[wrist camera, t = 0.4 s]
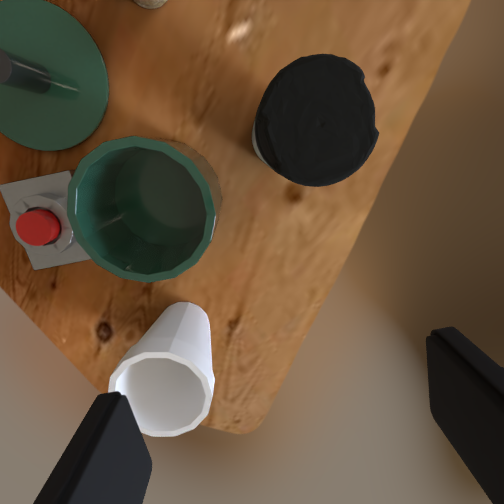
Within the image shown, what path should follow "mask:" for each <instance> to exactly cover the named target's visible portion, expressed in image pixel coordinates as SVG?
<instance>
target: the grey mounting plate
mask: <svg viewBox="0 0 504 504" xmlns="http://www.w3.org/2000/svg"><path fill="white" fill-rule="evenodd" d="M74 172H75V170H69V171H64V172H59V173H54V174H49V175H45V176H40V177H35V178H30V179H26V180H21V181H16V182H11V183H6V184H2V185H0V191H1V193H2V196H3V198H4V200H5V203H6V205H7V208H8V210H9V212H10V222H9V225H10V228H11V230H12V232H13V235H14V237H15V239H16V240H17V241H18V242H19V243H20V244H21V245H22V246H24V248H25V250H26V252H27V255H28V257H29V259H30V262H31V264H32V267H33V269H34V270H39V269H44V268H49V267H54V266H59V265H64V264H69V263H74V262H79V261H84V260H89V259H91V258H90V256H89V255H88V254H87V253H86V252H85V251H84V249H83V248H82V247H81V246H80V245H79V244H78V243H77V241H76V238H75V236H74V233H73V230H72V228H71V225H70V222H69V219H68V217H67V196H68V184H69V182H70V180H71V178H72V176H73V174H74ZM36 209H44V210H47V211H49V212H51V213H52V214H54V215H55V216H56V218H57V219H58V221H59V224H60V233H59V235H58V237H57V238H56V239H54V240H53V241H50V242H48V243H46V244H44V245H41V246H33V245H29V244H27V243H26V242H24V241H23V240H22V239H21V238H20V237H19V235H18V233H17V231H16V221H17V219H18V218H19V216H20V215H22V214H23V213H26V212H29V211H33V210H36Z"/></svg>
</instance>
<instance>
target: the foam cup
mask: <svg viewBox="0 0 504 504" xmlns="http://www.w3.org/2000/svg"><path fill="white" fill-rule="evenodd" d="M214 381H215V378H214V375H213V371H212V355H211V337H210V323H209V320H208V316H207V314H206V313H205V312H204V311H203V310H202V308H201V307H200V306H197V305H195V304H193V303H190V302H177V303H175V304H172V305H170V306H168V307H167V308H166V309H165V310H164V312H163V313H162V314H161V315H160V316H159V318H158V319H157V320H156V321H155V322H154V324H153V325H152V326H151V327H150V328H149V330H148V331H147V332H146V333H145V334H144V335H143V337H142V338H141V339H140V340H139V341H138V343H137V344H135V345H133V346H132V347H131V348H130V349H129V350H128V351H127V353H126V354H125V355H124V356H123V358H122V359H121V360H120V361H119V363H118V365H117V366H116V368H115V370H114V372H113V373H112V375H111V377H110V382H109V389H108V393H109V392H114V391H119V392H120V393H121V395H126V397H127V398H128V401H129V404H130V406H131V409H132V411H133V414H134V416H135V419H136V421H137V424H138V426H139V429H140V431H141V432H142V433H144V434H147V435H150V436H177V435H179V434H182V433H184V432H187V431H189V430H192V429H194V428H195V427H196V426H197V425H198V424H199V423H200V422H201V421H202V420H203V419H204V418H205V417H206V416H207V415H208V412H209V408H210V404H211V400H212V396H213V389H214Z"/></svg>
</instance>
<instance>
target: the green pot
mask: <svg viewBox="0 0 504 504" xmlns="http://www.w3.org/2000/svg"><path fill="white" fill-rule="evenodd" d="M221 205H222V194H221V188H220V184H219V181H218V177H217V175H216V173H215V172H214V170H213V168H212V167H211V165H210V164H209V163H208V162H207V160H206V159H205V157H204V156H202V155H201V154H199V153H198V152H197V151H196V150H194V149H192V148H191V147H189V146H187V145H186V144H185V143H181V142H176V141H171V140H167V139H162V138H152V137H142V136H130V137H125V138H120V139H116V140H111V141H106V142H103V143H102V144H101V145H99V146H98V147H97V148H95V149H94V150H93V151H91V152H90V153H89V154H88V155H86V156H85V157H84V158H82V159H81V161H80V162H79V164H78V166H77V168H76V170H75V172H74V174H73V176H72V178H71V180H70V182H69V184H68V196H67V217H68V219H69V222H70V225H71V228H72V230H73V233H74V236H75V238H76V241H77V243H78V244H79V245H80V246H81V247H82V248H83V249H84V251H85V252H86V253H87V254H88V255H89V256H90V258H91V259H92V260H93V261H94V262H95V263H96V264H97V265H99V266H101V267H102V268H104V269H106V270H108V271H109V272H111V273H113V274H115V275H116V276H118V277H120V278H124V279H130V280H136V281H142V282H147V283H150V282H155V281H161V280H166V279H171V278H175V277H177V276H178V275H180V274H181V273H183V272H184V271H186V270H187V269H189V268H190V267H192V266H194V265H195V264H196V263H197V262H198V261H199V259H200V258H201V256H202V255H203V253H204V252H205V250H206V249H207V247H208V246H209V244H210V243H211V241H212V238H213V235H214V232H215V229H216V226H217V224H218V221H219V216H220V211H221Z"/></svg>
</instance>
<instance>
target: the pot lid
mask: <svg viewBox="0 0 504 504" xmlns="http://www.w3.org/2000/svg"><path fill="white" fill-rule="evenodd" d="M108 98H109V81H108V73H107V69H106V65H105V62H104V59H103V57H102V54H101V52H100V50H99V48H98V46H97V44H96V43H95V41H94V39H93V38H92V36H91V35H90V34H89V32H88V31H87V30H86V29H85V28H84V27H83V26H82V25H81V24H80V23H79V22H78V21H77V20H76V19H75V18H74V17H73V16H71V15H70V14H69V13H67V12H66V11H64V10H63V9H61V8H60V7H58V6H56V5H54V4H52V3H49V2H47V1H44V0H3V1H0V132H1V133H2V134H4V135H5V136H7V137H8V138H10V139H11V140H13V141H15V142H17V143H19V144H21V145H23V146H26V147H29V148H32V149H36V150H43V151H58V150H65V149H68V148H72V147H74V146H76V145H78V144H80V143H82V142H83V141H85V140H86V139H88V138H89V137H90V136H91V135H92V134H93V133H94V132H95V130H96V129H97V128H98V126H99V125H100V123H101V121H102V119H103V117H104V114H105V112H106V108H107V104H108Z"/></svg>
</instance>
